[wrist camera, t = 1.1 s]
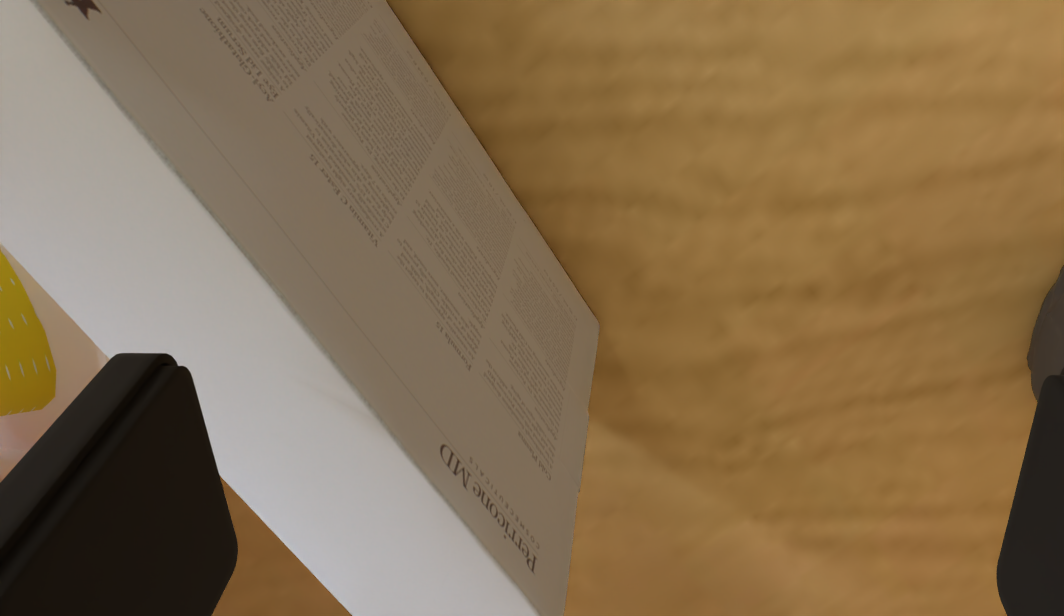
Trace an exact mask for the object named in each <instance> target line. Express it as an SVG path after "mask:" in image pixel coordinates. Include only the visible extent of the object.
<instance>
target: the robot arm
mask: <svg viewBox="0 0 1064 616" xmlns="http://www.w3.org/2000/svg"><path fill="white" fill-rule="evenodd" d="M237 554H238V544H237V538H236V534H235V531H234V527H233V523H232V520H231V516H230V512H229V509H228V505H227V501H226V498H225V494H224V490H223V487H222V483H221V479H220V476H219V472H218V469H217V465H216V461H215V458H214V454H213V450H212V447H211V443H210V439H209V436H208V432H207V428H206V425H205V421H204V417H203V414H202V410H201V407H200V403H199V399H198V396H197V392H196V388H195V385H194V381H193V378H192V375H191V372H190V371H189V370H188V368H187V367H184V366H178V364H177V362H176V360H175V359H174V358H173V357H172V356H171V355H169V354H167V353H119V354H116V355H115V356H113V357H112V358H111V359H110V360H109V361H108V362H107V363H106V364H105V366H104V367H103V368H102V369H101V370H100V371H99V372H98V373H97V375H96V376H95V377H94V378H93V379H92V380H91V381H90V382H89V383H88V385H87V386H86V387H85V388H84V389H83V390H82V391H81V392H80V394H79V395H78V396H77V397H76V398H75V399H74V400H73V401H72V403H71V404H70V405H69V406H68V407H67V408H66V409H65V410H64V412H63V413H62V414H61V415H60V416H59V417H58V418H57V419H56V421H55V422H54V423H53V424H52V425H51V426H50V427H49V428H48V430H47V431H46V432H45V433H44V434H43V435H42V436H41V437H40V439H39V440H38V441H37V442H36V443H35V444H34V445H33V446H32V448H31V449H30V450H29V451H28V452H27V453H26V454H25V455H24V457H23V458H22V459H21V460H20V461H19V462H18V463H17V464H16V466H15V467H14V468H13V469H12V470H11V471H10V472H9V473H8V475H7V476H6V477H5V478H4V479H3V480H2V481H1V482H0V616H211V615H212V613H213V611H214V609H215V607H216V605H217V603H218V602H219V600H220V598H221V596H222V594H223V592H224V590H225V588H226V586H227V584H228V582H229V580H230V578H231V576H232V574H233V571H234V569H235V566H236V561H237ZM997 587H998V592H999V596H1000V599H1001V602H1002V604H1003V607H1004V609H1005V611H1006V614H1007V616H1064V368H1063V369H1062V371H1061V374H1060V375H1050V376H1048V377H1047V378H1046V379H1045V380H1044V382H1043V385H1042V388H1041V391H1040V395H1039V399H1038V403H1037V407H1036V411H1035V415H1034V419H1033V423H1032V427H1031V431H1030V435H1029V439H1028V444H1027V448H1026V452H1025V456H1024V460H1023V464H1022V468H1021V472H1020V476H1019V480H1018V484H1017V488H1016V492H1015V496H1014V500H1013V504H1012V508H1011V512H1010V516H1009V520H1008V524H1007V528H1006V532H1005V536H1004V540H1003V544H1002V548H1001V552H1000V556H999V560H998V565H997Z"/></svg>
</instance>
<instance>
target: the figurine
mask: <svg viewBox="0 0 1064 616" xmlns="http://www.w3.org/2000/svg"><path fill="white" fill-rule="evenodd" d="M1027 360H1028V366H1029V369H1030V370H1031V372H1032V373H1031V383H1032V390H1033V393H1034V396H1035V398H1036V400H1037V402H1038V399H1039V395H1040V391H1041V388H1042V385H1043V382H1044V380H1045V379H1046V378H1047V377H1048V376H1050V375H1060V374H1061V371H1062V369H1063V368H1064V266H1063V267H1062V269H1061V271H1060V274H1059V277H1058V280H1057V282H1056V283H1055V284H1054V286H1053V287H1052V288H1051V289H1050V291H1049V293H1048V294H1047V296H1046V298H1045V300H1044V302H1043V304H1042V307H1041V310H1040V313H1039V315H1038V318H1037V321H1036V324H1035V327H1034V330H1033V334H1032V338H1031V344H1030V348H1029V352H1028V356H1027Z"/></svg>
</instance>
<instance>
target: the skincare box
mask: <svg viewBox="0 0 1064 616" xmlns="http://www.w3.org/2000/svg"><path fill="white" fill-rule="evenodd" d="M0 243H1V244H2V245H3V246H4V247H5V248H6V249H7V250H8V251H9V252H10V253H11V255H12V256H13V257H14V258H15V259H16V260H17V261H18V262H19V263H20V264H21V265H22V266H23V267H24V268H25V269H26V270H27V272H28V273H29V274H30V275H31V276H32V277H33V278H34V279H35V280H36V281H37V282H38V283H39V284H40V285H41V286H42V287H43V289H44V290H45V291H46V292H47V293H48V294H49V295H50V296H51V297H52V298H53V299H54V300H55V301H56V302H57V303H58V304H59V306H60V307H61V308H62V309H63V310H64V311H65V312H66V313H67V314H68V315H69V316H70V317H71V318H72V319H73V320H74V322H75V323H76V324H77V325H78V326H79V327H80V328H81V329H82V330H83V331H84V332H85V333H86V334H87V335H88V336H89V337H90V339H91V340H92V341H93V342H94V343H95V344H96V345H97V346H98V347H99V348H100V349H101V350H102V351H103V352H104V353H105V354H106V356H107V357H108V358H109V359H111V358H112V357H113V356H115V355H116V354H119V353H167V354H169V355H171V356H172V357H173V358H174V359H175V360H176V362H177V364H178V366H184V367H187V368H188V370H189V371H190V372H191V375H192V378H193V381H194V385H195V388H196V392H197V396H198V399H199V403H200V407H201V410H202V414H203V417H204V421H205V425H206V428H207V432H208V436H209V439H210V443H211V447H212V450H213V454H214V458H215V461H216V465H217V469H218V472H219V475H220V476H221V477H222V478H223V479H224V480H225V481H226V483H227V484H228V485H229V486H230V487H231V488H232V489H233V490H234V491H235V492H236V493H237V494H238V495H239V496H240V497H241V498H242V499H243V501H244V502H245V503H246V504H247V505H248V506H249V507H250V508H251V509H252V510H253V511H254V512H255V513H256V514H257V515H258V516H259V517H260V519H261V520H262V521H263V522H264V523H265V524H266V525H267V526H268V527H269V528H270V529H271V530H272V531H273V532H274V533H275V534H276V535H277V536H278V538H279V539H280V540H281V541H282V542H283V543H284V544H285V545H286V546H287V547H288V548H289V549H290V550H291V551H292V552H293V553H294V554H295V556H296V557H297V558H298V559H299V560H300V561H301V562H302V563H303V564H304V565H305V566H306V567H307V568H308V569H309V570H310V571H311V572H312V574H313V575H314V576H315V577H316V578H317V579H318V580H319V581H320V582H321V583H322V584H323V585H324V586H325V587H326V588H327V589H328V590H329V592H330V593H331V594H332V595H333V596H334V597H335V598H336V599H337V600H338V601H339V602H340V603H341V604H342V605H343V606H344V607H345V608H346V610H347V611H348V612H349V613H350V614H351V615H352V616H564V610H565V602H566V594H567V586H568V577H569V569H570V560H571V552H572V544H573V535H574V526H575V517H576V508H577V499H578V493H579V492H580V486H581V477H582V469H583V461H584V454H585V446H586V438H587V430H588V422H589V414H588V407H589V400H590V393H591V386H592V380H593V373H594V366H595V359H596V353H597V345H598V336H599V329H600V324H599V322H598V320H597V319H596V317H595V316H594V315H593V313H592V312H591V310H590V309H589V307H588V306H587V304H586V303H585V301H584V300H583V298H582V297H581V295H580V294H579V292H578V291H577V289H576V287H575V286H574V284H573V283H572V281H571V280H570V278H569V277H568V275H567V274H566V272H565V271H564V269H563V268H562V266H561V264H560V263H559V261H558V260H557V258H556V257H555V255H554V254H553V252H552V251H551V249H550V248H549V246H548V245H547V243H546V242H545V240H544V239H543V237H542V236H541V234H540V233H539V231H538V230H537V228H536V227H535V225H534V224H533V222H532V220H531V219H530V217H529V216H528V214H527V213H526V211H525V210H524V209H523V207H522V206H521V204H520V203H519V202H518V200H517V199H516V197H515V196H514V194H513V193H512V191H511V189H510V188H509V186H508V185H507V183H506V182H505V180H504V179H503V177H502V176H501V174H500V173H499V171H498V169H497V168H496V166H495V165H494V163H493V162H492V160H491V159H490V157H489V156H488V154H487V153H486V151H485V150H484V148H483V147H482V145H481V144H480V142H479V141H478V139H477V137H476V136H475V134H474V133H473V131H472V130H471V128H470V127H469V125H468V124H467V122H466V121H465V119H464V118H463V116H462V115H461V113H460V112H459V110H458V109H457V107H456V106H455V104H454V103H453V101H452V100H451V98H450V97H449V95H448V94H447V92H446V91H445V89H444V88H443V86H442V85H441V83H440V82H439V80H438V78H437V77H436V75H435V74H434V72H433V71H432V69H431V68H430V66H429V65H428V63H427V62H426V60H425V59H424V57H423V56H422V54H421V53H420V51H419V50H418V48H417V47H416V45H415V44H414V42H413V41H412V39H411V38H410V36H409V35H408V33H407V32H406V30H405V29H404V27H403V26H402V24H401V23H400V21H399V20H398V18H397V17H396V15H395V14H394V12H393V11H392V9H391V8H390V6H389V5H388V3H387V2H386V0H0Z"/></svg>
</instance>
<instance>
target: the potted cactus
mask: <svg viewBox="0 0 1064 616" xmlns="http://www.w3.org/2000/svg"><path fill="white" fill-rule="evenodd" d="M109 360H110V359H109V358H108V357H107V356H106V354H105V353H104V352H103V351H102V350H101V349H100V348H99V347H98V346H97V345H96V344H95V343H94V342H93V341H92V340H91V339H90V337H89V336H88V335H87V334H86V333H85V332H84V331H83V330H82V329H81V328H80V327H79V326H78V325H77V324H76V323H75V322H74V320H73V319H72V318H71V317H70V316H69V315H68V314H67V313H66V312H65V311H64V310H63V309H62V308H61V307H60V306H59V304H58V303H57V302H56V301H55V300H54V299H53V298H52V297H51V296H50V295H49V294H48V293H47V292H46V291H45V290H44V289H43V287H42V286H41V285H40V284H39V283H38V282H37V281H36V280H35V279H34V278H33V277H32V276H31V275H30V274H29V273H28V272H27V270H26V269H25V268H24V267H23V266H22V265H21V264H20V263H19V262H18V261H17V260H16V259H15V258H14V257H13V256H12V255H11V253H10V252H9V251H8V250H7V249H6V248H5V247H4V246H3V245H2V244H1V243H0V482H1V481H2V480H3V479H4V478H5V477H6V476H7V475H8V473H9V472H10V471H11V470H12V469H13V468H14V467H15V466H16V464H17V463H18V462H19V461H20V460H21V459H22V458H23V457H24V455H25V454H26V453H27V452H28V451H29V450H30V449H31V448H32V446H33V445H34V444H35V443H36V442H37V441H38V440H39V439H40V437H41V436H42V435H43V434H44V433H45V432H46V431H47V430H48V428H49V427H50V426H51V425H52V424H53V423H54V422H55V421H56V419H57V418H58V417H59V416H60V415H61V414H62V413H63V412H64V410H65V409H66V408H67V407H68V406H69V405H70V404H71V403H72V401H73V400H74V399H75V398H76V397H77V396H78V395H79V394H80V392H81V391H82V390H83V389H84V388H85V387H86V386H87V385H88V383H89V382H90V381H91V380H92V379H93V378H94V377H95V376H96V375H97V373H98V372H99V371H100V370H101V369H102V368H103V367H104V366H105V364H106V363H107V362H108V361H109Z"/></svg>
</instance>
